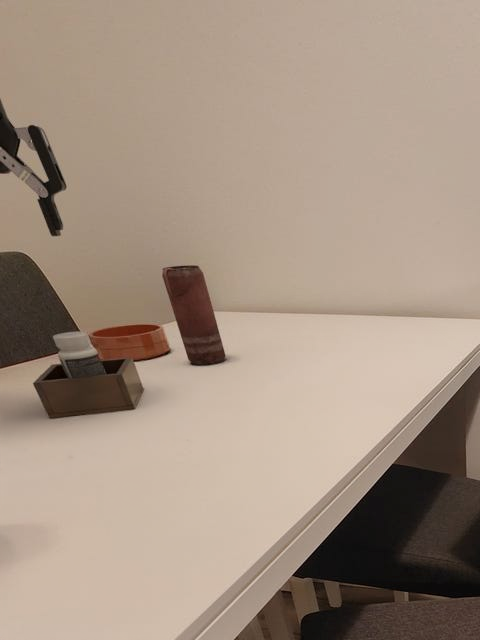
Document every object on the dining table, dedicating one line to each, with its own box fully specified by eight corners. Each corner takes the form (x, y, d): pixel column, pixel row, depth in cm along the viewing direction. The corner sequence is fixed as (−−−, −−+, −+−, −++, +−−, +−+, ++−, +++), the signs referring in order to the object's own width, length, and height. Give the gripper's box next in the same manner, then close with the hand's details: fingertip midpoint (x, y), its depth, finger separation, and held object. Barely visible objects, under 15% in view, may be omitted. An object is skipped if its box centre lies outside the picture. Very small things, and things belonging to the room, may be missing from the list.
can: (180, 364, 101) (149, 268, 92) (207, 355, 105) (180, 263, 96) (208, 367, 99) (179, 269, 90) (233, 358, 103) (208, 264, 95)
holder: (49, 418, 78) (32, 383, 76) (66, 397, 86) (51, 364, 84) (134, 408, 81) (121, 374, 78) (143, 389, 89) (132, 356, 86)
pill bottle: (122, 396, 84) (97, 331, 79) (93, 405, 81) (65, 339, 76) (99, 393, 86) (73, 329, 81) (70, 402, 82) (41, 336, 77)
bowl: (92, 365, 101) (82, 340, 99) (104, 350, 111) (95, 327, 108) (167, 358, 104) (159, 333, 102) (173, 344, 113) (165, 321, 111)
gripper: (-158, 43, 58) (-61, 241, 68) (7, 49, 61) (76, 237, 71) (-123, 55, 63) (-39, 237, 73) (26, 60, 67) (87, 233, 77)
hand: (18, 236), depth 72 cm, fingers open, 8 cm apart
